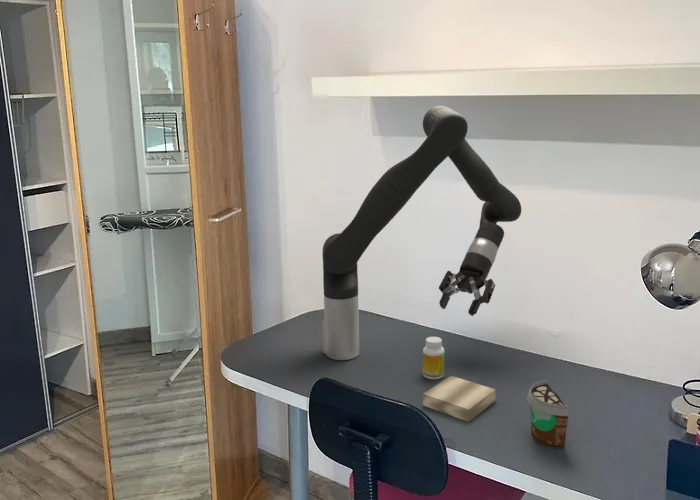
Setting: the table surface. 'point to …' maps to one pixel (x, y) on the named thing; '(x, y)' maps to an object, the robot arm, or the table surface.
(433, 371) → the supplement bottle
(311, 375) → the table surface
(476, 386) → the base block
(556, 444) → the food container
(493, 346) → the table surface
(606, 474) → the table surface
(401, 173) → the robot arm
